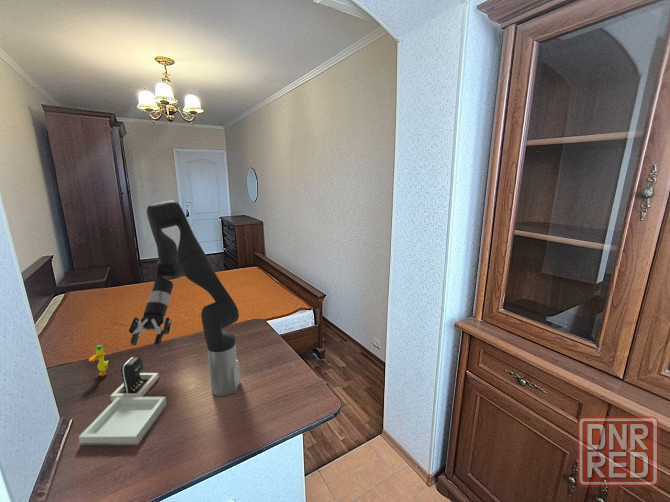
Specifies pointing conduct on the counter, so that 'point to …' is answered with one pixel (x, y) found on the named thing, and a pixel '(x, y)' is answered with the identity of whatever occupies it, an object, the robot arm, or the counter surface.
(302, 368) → the counter surface
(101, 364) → the toy figure
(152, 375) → the white rectangular frame
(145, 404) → the tray
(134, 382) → the battery charger
